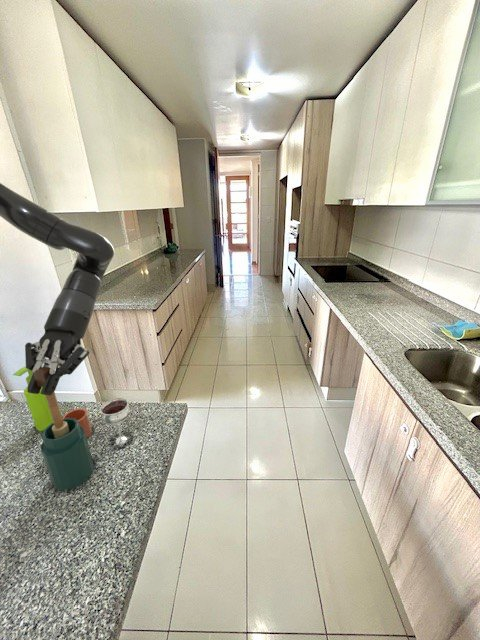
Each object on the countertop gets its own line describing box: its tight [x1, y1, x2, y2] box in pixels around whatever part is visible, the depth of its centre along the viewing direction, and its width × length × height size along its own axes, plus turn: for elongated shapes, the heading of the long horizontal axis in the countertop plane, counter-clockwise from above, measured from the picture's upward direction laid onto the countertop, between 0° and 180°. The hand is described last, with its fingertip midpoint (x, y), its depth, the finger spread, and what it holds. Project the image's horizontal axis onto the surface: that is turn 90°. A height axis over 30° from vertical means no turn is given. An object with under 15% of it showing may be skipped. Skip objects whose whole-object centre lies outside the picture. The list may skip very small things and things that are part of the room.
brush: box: [33, 366, 70, 439], centre depth 55 cm, size 3×3×20 cm
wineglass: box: [99, 397, 131, 445], centre depth 69 cm, size 7×7×12 cm
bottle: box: [40, 418, 94, 491], centre depth 59 cm, size 8×8×14 cm
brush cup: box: [62, 408, 93, 439], centre depth 71 cm, size 6×6×7 cm
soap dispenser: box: [12, 365, 54, 432], centre depth 72 cm, size 6×7×20 cm
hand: (39, 393), depth 51 cm, fingers closed on brush, 2 cm apart
